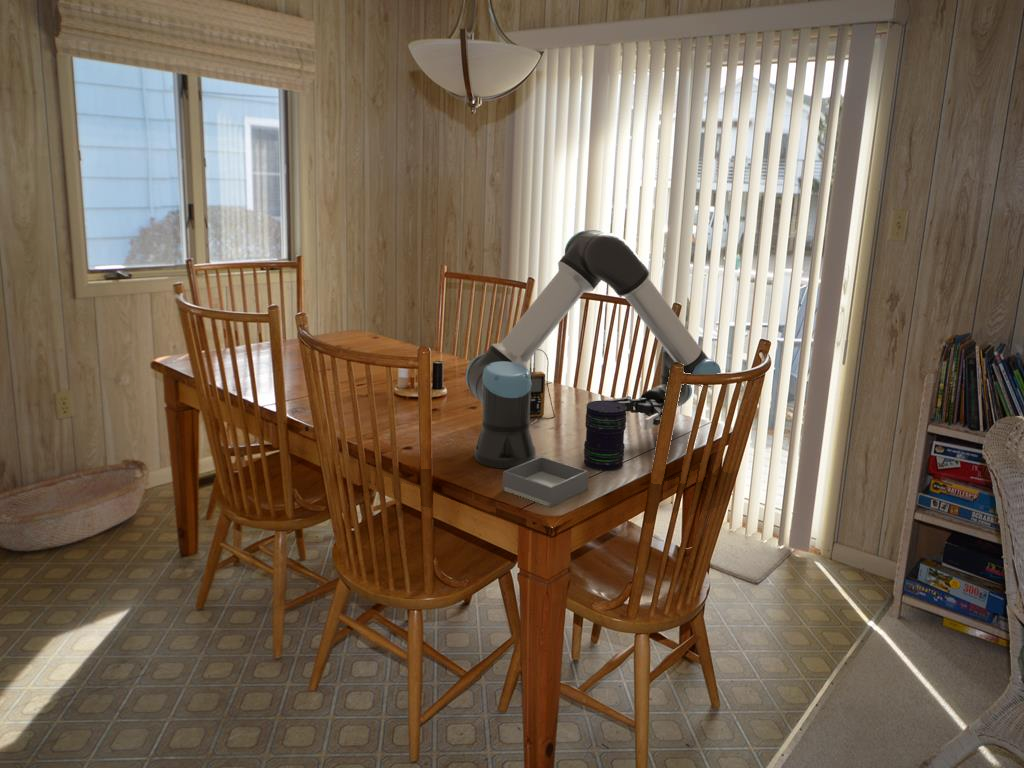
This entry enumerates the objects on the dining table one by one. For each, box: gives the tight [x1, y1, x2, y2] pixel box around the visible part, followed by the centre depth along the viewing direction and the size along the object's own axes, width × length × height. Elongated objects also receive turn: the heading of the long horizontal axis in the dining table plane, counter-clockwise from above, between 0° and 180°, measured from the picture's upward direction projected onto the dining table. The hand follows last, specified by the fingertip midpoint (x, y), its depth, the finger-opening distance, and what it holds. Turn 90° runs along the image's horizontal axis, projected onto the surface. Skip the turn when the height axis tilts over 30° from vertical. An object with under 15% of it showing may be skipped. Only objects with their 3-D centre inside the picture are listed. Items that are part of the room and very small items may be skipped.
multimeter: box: [529, 348, 556, 425], centre depth 224 cm, size 15×10×20 cm
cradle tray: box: [502, 456, 589, 508], centre depth 175 cm, size 14×14×4 cm
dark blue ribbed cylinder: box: [583, 399, 627, 472], centre depth 191 cm, size 10×10×15 cm
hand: (621, 419), depth 196 cm, fingers open, 13 cm apart
